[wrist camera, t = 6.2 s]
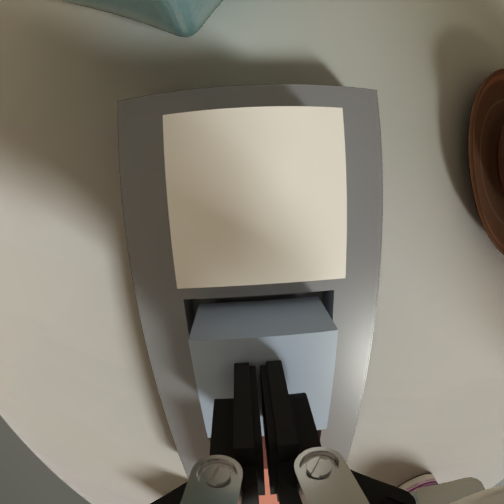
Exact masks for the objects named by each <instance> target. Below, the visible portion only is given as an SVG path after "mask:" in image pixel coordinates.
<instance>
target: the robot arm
mask: <svg viewBox="0 0 504 504" xmlns="http://www.w3.org/2000/svg"><path fill="white" fill-rule="evenodd" d="M260 373H261V393H262V414H263V427H264V437H265V447H266V457H267V466H268V476H269V486H270V494H271V495H273V494H277V501H278V502H279V504H504V486H499V487H494V488H490V489H486V490H485V488H484V486H483V484H482V482H481V481H479V480H478V479H476V478H472V477H469V478H463V479H459V480H455V481H450V482H446V483H442V484H437V485H432V486H427V487H421V488H416V490H415V491H411V492H407V491H405V490H403V489H400V488H397V487H395V486H392V485H389V484H386V483H383V482H380V481H378V480H375V479H372V478H370V477H367V476H365V475H362V474H360V473H357V472H355V471H352V470H350V469H349V467H348V465H347V463H346V462H345V460H344V458H343V457H342V456H341V454H340V453H339V452H337V451H335V450H334V449H331V448H328V447H322V446H321V443H320V439H319V436H318V432H317V429H316V425H315V422H314V418H313V415H312V412H311V408H310V405H309V401H308V398H307V395H306V393H305V392H304V393H296V394H289V393H288V389H287V384H286V380H285V375H284V371H283V366H282V362H281V360H275V361H266V365H261V366H260ZM260 495H265V480H264V460H263V444H262V433H261V422H260V411H259V400H258V388H257V377H256V366H249V362H247V363H234V398H226V399H215V400H214V407H213V418H212V430H211V442H210V455H209V456H207V457H204V458H202V459H200V460H199V461H198V462H197V463H195V464H194V466H193V468H192V470H191V473H190V476H189V479H188V482H186V483H184V484H183V485H181V486H180V487H178V488H176V489H175V490H173V491H171V492H170V493H168V494H166V495H165V496H163V497H161V498H159V499H158V500H156V501H154V502H152V503H151V504H259V496H260Z"/></svg>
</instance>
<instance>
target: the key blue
mask: <svg viewBox="0 0 504 504" xmlns="http://www.w3.org/2000/svg"><path fill="white" fill-rule="evenodd" d="M337 338H338V329H337V327H336V326H335V324H334V322H333V320H332V319H331V317H330V315H329V314H328V312H327V310H326V309H325V307H324V305H323V304H322V302H321V300H320V299H319V297H318V296H316V297H303V298H291V299H277V300H262V301H245V302H227V303H206V304H199V306H198V310H197V313H196V316H195V319H194V323H193V326H192V329H191V333H190V336H189V339H188V341H189V347H190V353H191V359H192V364H193V370H194V375H195V380H196V385H197V390H198V395H199V400H200V405H201V410H202V414H203V419H204V423H205V428H206V432H207V436H208V438H211V430H212V418H213V407H214V400H215V399H226V398H234V363H247V362H249V366H256V377H257V388H258V400H259V411H260V422H261V433H262V436H264V427H263V414H262V393H261V373H260V366H261V365H266V361H275V360H281V362H282V366H283V371H284V375H285V380H286V384H287V389H288V393H289V394H296V393H304V392H305V393H306V395H307V398H308V401H309V405H310V408H311V412H312V415H313V418H314V422H315V425H316V429H317V430H321V429H327V423H328V417H329V410H330V402H331V395H332V387H333V378H334V369H335V359H336V349H337Z"/></svg>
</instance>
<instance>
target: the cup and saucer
mask: <svg viewBox="0 0 504 504" xmlns="http://www.w3.org/2000/svg"><path fill="white" fill-rule="evenodd" d="M469 165H470V174H471V182H472V187H473V193H474V197H475V202H476V205H477V209H478V212H479V215H480V218H481V221H482V224H483V226H484V228H485V230H486V232H487V234H488V236H489V238H490V239H491V241H492V243H493V244H494V245H495V246H496V248H497V249H498V250H499V251H500V252H501V253H502V254H503V255H504V69H500V70H497V71H495V72H494V73H492V74H491V75H489V76H488V77H487V78H486V79H485V80H484V81H483V83H482V84H481V86H480V87H479V89H478V91H477V94H476V96H475V99H474V102H473V106H472V111H471V116H470V124H469Z"/></svg>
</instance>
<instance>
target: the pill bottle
mask: <svg viewBox="0 0 504 504" xmlns="http://www.w3.org/2000/svg"><path fill="white" fill-rule="evenodd" d="M437 484H438V483H437V481H436V479H435V477H434V476H433V475H431V474H425V475H421V476H418V477H416V478H413V479H411V480H409V481H407V482H406V483H404V484H402V485H401V486H399V487H398V488H400V489H403V490H405V491H407V492H411V491H415V490H416V488H421V487H427V486H432V485H437Z"/></svg>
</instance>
